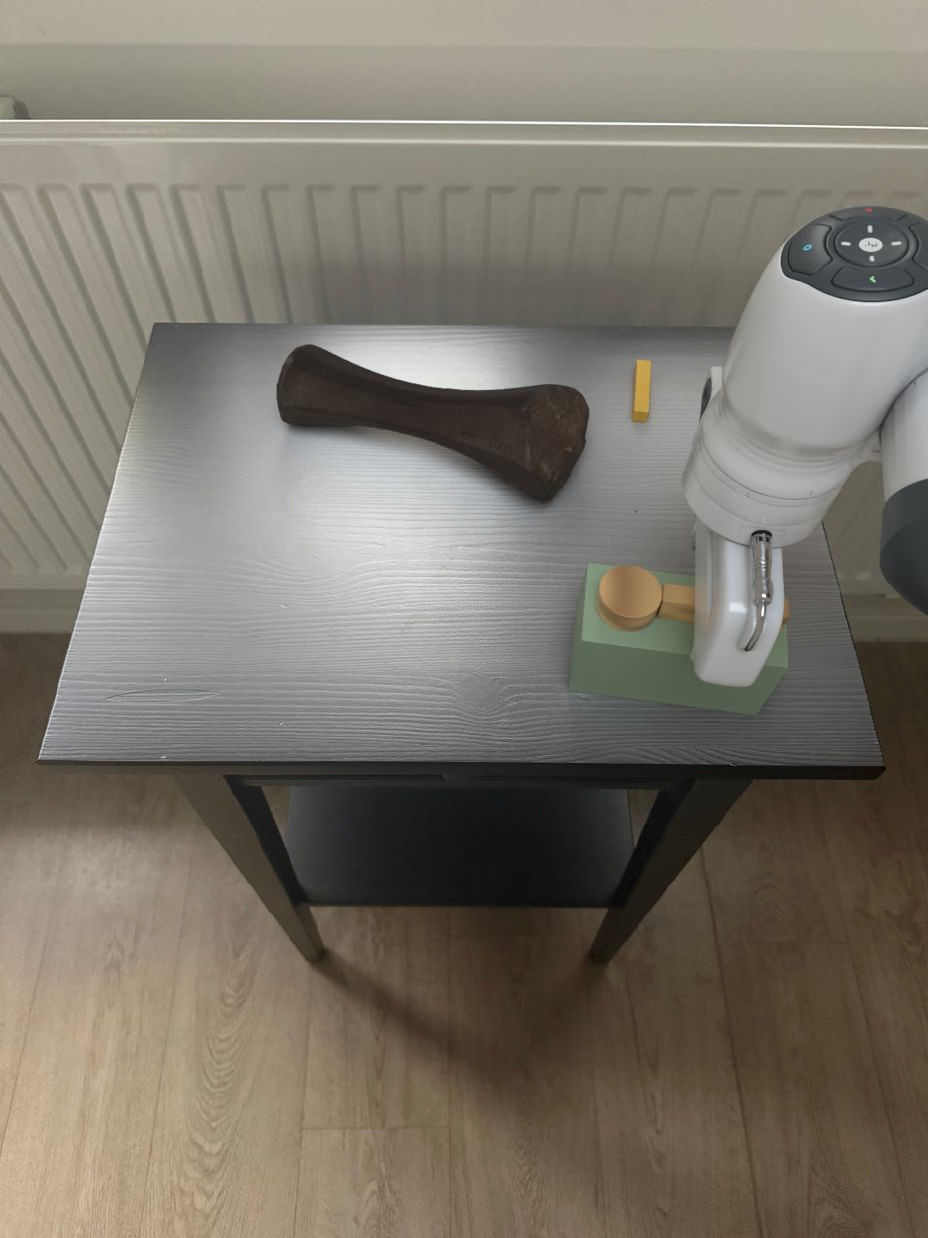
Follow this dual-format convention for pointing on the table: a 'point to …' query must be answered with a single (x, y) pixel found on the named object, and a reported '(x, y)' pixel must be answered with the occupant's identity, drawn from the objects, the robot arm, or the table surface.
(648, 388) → the fry
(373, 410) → the dark brown bone
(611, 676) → the sage green box
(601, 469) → the table surface
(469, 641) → the table surface
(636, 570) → the spoon
